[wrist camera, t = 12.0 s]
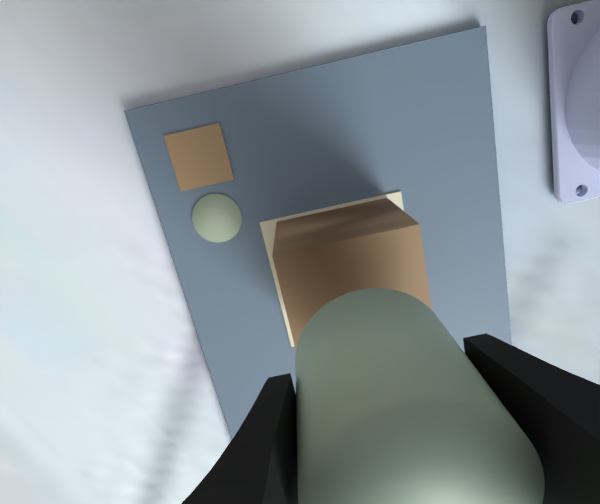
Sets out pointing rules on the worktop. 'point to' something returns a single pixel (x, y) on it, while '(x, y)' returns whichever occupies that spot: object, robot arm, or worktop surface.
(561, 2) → the worktop surface
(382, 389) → the sage drum
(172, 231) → the board
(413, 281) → the walnut block
